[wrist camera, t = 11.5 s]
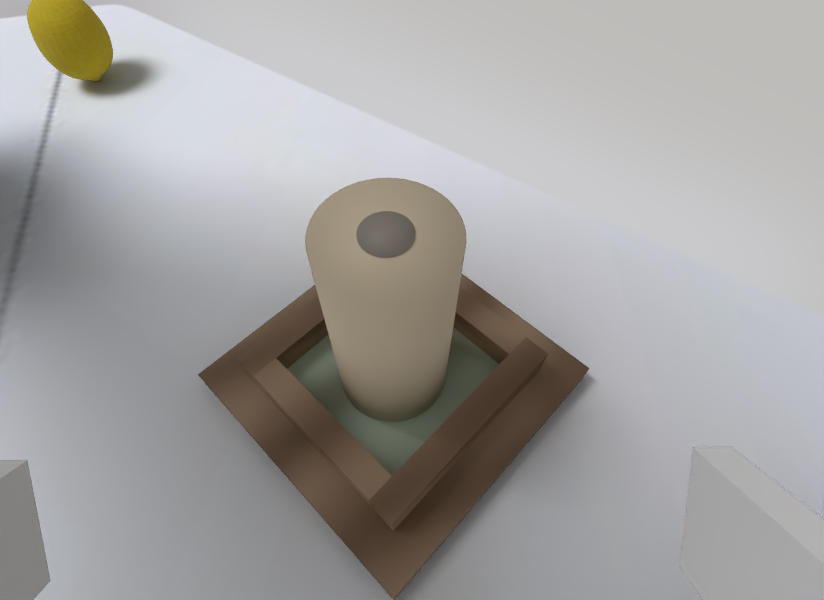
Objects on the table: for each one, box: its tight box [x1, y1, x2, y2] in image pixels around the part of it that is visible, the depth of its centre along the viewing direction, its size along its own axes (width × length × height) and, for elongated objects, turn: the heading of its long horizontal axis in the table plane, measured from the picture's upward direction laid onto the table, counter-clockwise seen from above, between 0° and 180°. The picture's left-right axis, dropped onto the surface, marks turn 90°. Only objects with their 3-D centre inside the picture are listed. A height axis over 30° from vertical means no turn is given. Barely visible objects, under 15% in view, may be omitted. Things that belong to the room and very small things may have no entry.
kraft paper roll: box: [305, 178, 466, 422], centre depth 24 cm, size 6×6×12 cm
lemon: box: [27, 0, 113, 82], centre depth 43 cm, size 6×6×8 cm
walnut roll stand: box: [198, 273, 589, 599], centre depth 29 cm, size 16×16×3 cm
